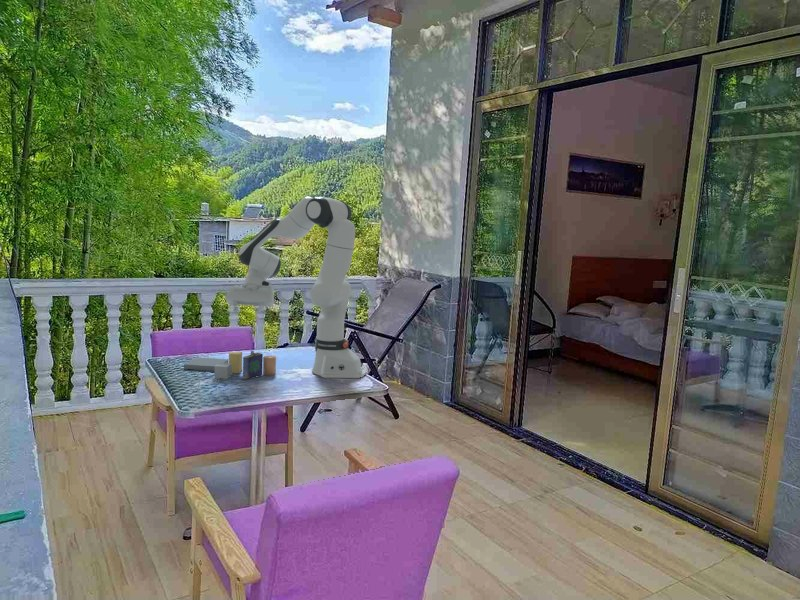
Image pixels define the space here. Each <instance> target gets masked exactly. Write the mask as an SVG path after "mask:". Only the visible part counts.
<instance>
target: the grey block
mask: <svg viewBox="0 0 800 600" xmlns="http://www.w3.org/2000/svg"><path fill="white" fill-rule="evenodd" d="M230 376H231V377H232V376H233V373H232V363H229V362H228V363H218V364H217V365H215V371H214V379H218V378H223V379H222V380H228V379H229V378H231V377H230Z"/></svg>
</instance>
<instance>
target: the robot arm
mask: <svg viewBox="0 0 800 600" xmlns="http://www.w3.org/2000/svg"><path fill="white" fill-rule="evenodd" d="M351 218H352V208H351V207H350V205H349V204H348V203H346V202H345V201H343V200H338V199H334V198H332V197H323V196H316V197H312V196H305V197H303V198H301V199H300V200H299V201H298V202H297V204H295V206H294V207H292V208H291V210H290V211H289V213H288V214H287V215H285V216H283V217H280V218H274V219H273V220H271V221H270V222H269V223H267V225H265V226H264V227H263V228H262V229H261V230H260V231H259V232H258V233H256V234H255V236H253V237H252V238H251V239H249V241H247V242H246V243H244V244H243V245H242V246H241V248H240V249H239V252H238V254H237V257H238V259H239V261H240V263H241V264H242V265H245V266H247V267H248V270H247V275H246V277H245V280H244V282H243V285H242V284H240V285H239V284H238V285H237V284H233V285H231V286H229V288H228V292H227V293H226V296H225V300H226V303H228V304H229V305H232V306H233V309H232V311H233V312H234V313H238V312H239V307H238V305H242V306H254V307H255V306H257V307H256V308H255V310H254V312H255V314H256V315H257V314H258V315H259V314H260V312H261V311H262V310H263V309H264V308H265V307H268V308H269V307H272V306H273V305H274V302H275V295H274V294H275V289H274V286H273V284H272V283H271V282H269V281H268V280H267V279H271V278H274V277H276V276H277V275H278V274H279V272H280V270H281V267H282V260H281V258H280V257H279V256H277V255H276V254H275V253H272V252H271V251H268V250H266V249H265V248H262V246H263V245H264V244H265V243H266V242H267V241H268V240H269V239H271V238H273V237H274V238H275V237H281V238H286V239H291V240H299V239H302V238H304V237H306V235H307V234H308V233H309V232H310V231H311V229H312V228H313V227H314V226H315V224H316V225H317V226H318V227H320V228H321V229H324V228H326V230H327V240H326V244H325V249H324V250H325V251H324V255H323V261H322V264H321V268H320V270H319V272H318V275H317V278H316V280H315V282H314V284H313V286H312V287H311V289H310V292H309V297H310V301H311V302H312V304H313V305H315V306H316V307H320V308H321V310H320V313H319V315H318V317H317V321H316V338H315V341H314V350H315V356H314V363H313V366H312V370H311V372H312V374H314V375H317V376H320V377H322V378H323V379H324V378H325V379H360V377H361V378H363V377H365V376H366V374H367V369H366V368H365V367H362V362H361V359H360V357H359V356H358V354H357V353H355V352H353V351H352V350H351V349H350V348H349V340H348V339H345V337H344V336H345V332H344V331H345V319H346V313H347V309H348V304H349V299H350V297H351V295H352V285H351V284H350V282H349V281H348V280H346V279H345V278H346V276H347V274H348V272H349V270H350V268H351V263H352V259H353V253H354V248H355V240H356V225H355V224H354V223H353V222H352V221H351ZM364 375H365V376H364Z"/></svg>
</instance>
